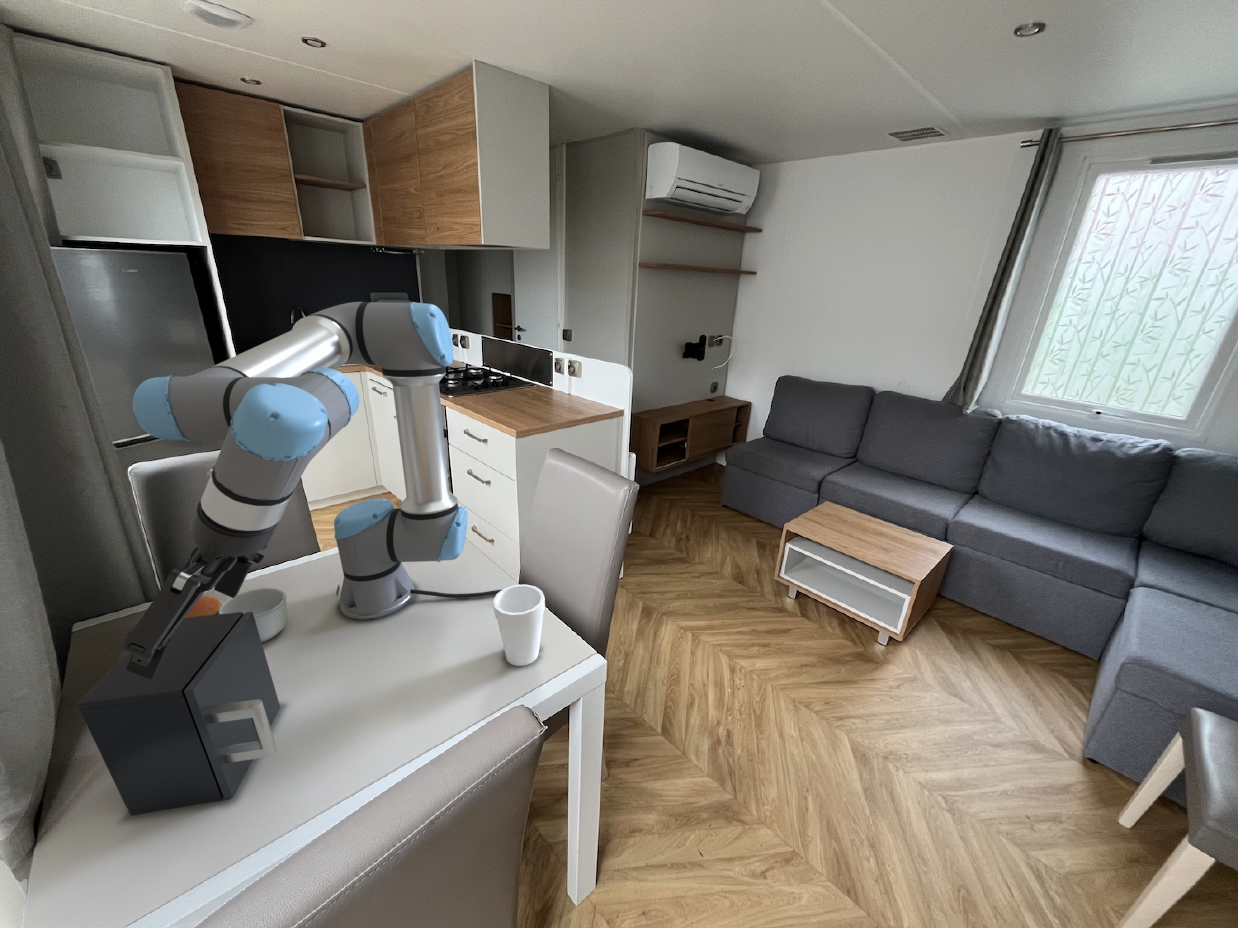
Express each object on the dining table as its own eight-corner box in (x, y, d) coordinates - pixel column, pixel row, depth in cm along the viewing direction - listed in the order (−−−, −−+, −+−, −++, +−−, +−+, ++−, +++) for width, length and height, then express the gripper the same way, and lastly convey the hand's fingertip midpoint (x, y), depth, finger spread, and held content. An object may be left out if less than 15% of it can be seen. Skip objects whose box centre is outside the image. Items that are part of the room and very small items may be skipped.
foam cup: (556, 654, 97) (554, 599, 93) (517, 679, 91) (513, 621, 86) (526, 631, 103) (523, 578, 99) (488, 654, 97) (483, 598, 92)
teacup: (250, 618, 105) (241, 586, 103) (303, 616, 106) (295, 584, 104) (204, 665, 92) (192, 631, 90) (265, 663, 93) (255, 628, 91)
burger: (230, 604, 109) (224, 587, 108) (218, 630, 102) (212, 612, 100) (174, 616, 105) (167, 598, 104) (157, 644, 98) (150, 625, 96)
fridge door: (318, 702, 85) (293, 607, 78) (278, 790, 70) (244, 683, 63) (274, 708, 84) (245, 612, 77) (224, 799, 69) (183, 691, 62)
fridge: (272, 709, 84) (243, 611, 77) (222, 800, 69) (180, 690, 62) (198, 719, 81) (161, 619, 74) (130, 816, 67) (76, 703, 60)
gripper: (276, 446, 65) (226, 554, 72) (100, 562, 42) (53, 702, 50) (331, 475, 67) (277, 578, 74) (191, 601, 44) (133, 730, 52)
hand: (187, 628), depth 62 cm, fingers open, 13 cm apart
